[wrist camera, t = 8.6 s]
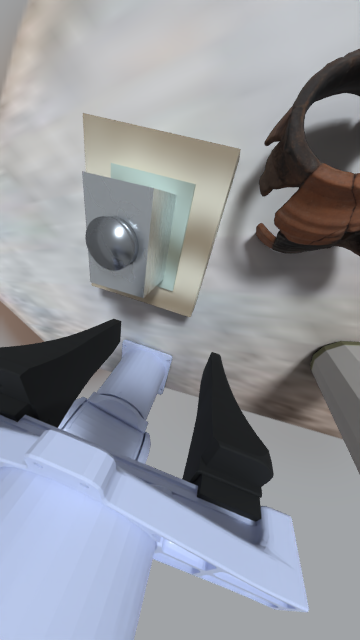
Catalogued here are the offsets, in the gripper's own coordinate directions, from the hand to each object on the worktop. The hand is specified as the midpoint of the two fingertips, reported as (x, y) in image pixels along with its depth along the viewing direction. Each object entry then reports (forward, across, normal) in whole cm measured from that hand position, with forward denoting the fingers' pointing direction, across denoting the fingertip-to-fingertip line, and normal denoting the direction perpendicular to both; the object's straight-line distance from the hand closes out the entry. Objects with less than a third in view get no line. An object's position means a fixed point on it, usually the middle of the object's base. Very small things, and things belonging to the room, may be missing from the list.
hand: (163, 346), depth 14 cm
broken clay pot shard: (+10, -8, -12) cm, 18 cm away
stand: (+10, +5, -6) cm, 13 cm away
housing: (+7, +5, -6) cm, 10 cm away
